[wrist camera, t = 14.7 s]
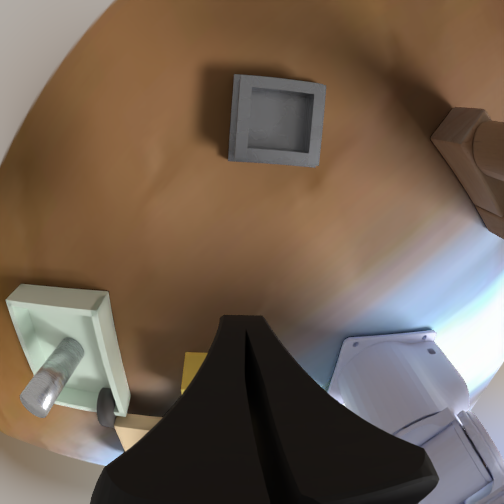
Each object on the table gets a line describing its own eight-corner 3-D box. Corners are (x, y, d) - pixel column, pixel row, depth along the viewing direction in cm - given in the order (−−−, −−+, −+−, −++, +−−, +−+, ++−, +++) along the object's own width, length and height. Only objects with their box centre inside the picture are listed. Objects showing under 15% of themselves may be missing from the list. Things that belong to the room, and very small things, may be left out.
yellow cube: (237, 352, 23) (240, 390, 20) (236, 387, 25) (238, 423, 21) (185, 351, 23) (180, 389, 19) (188, 386, 24) (185, 422, 21)
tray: (108, 291, 20) (97, 310, 18) (131, 396, 24) (125, 416, 22) (21, 283, 19) (5, 299, 17) (55, 383, 24) (47, 401, 21)
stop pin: (78, 336, 21) (36, 394, 14) (88, 359, 21) (52, 419, 15) (57, 337, 21) (14, 391, 14) (67, 359, 22) (30, 415, 15)
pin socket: (320, 85, 16) (332, 80, 14) (312, 166, 18) (323, 171, 16) (233, 75, 16) (235, 69, 14) (228, 160, 18) (228, 164, 16)
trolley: (222, 388, 25) (223, 450, 19) (221, 461, 30) (223, 508, 24) (104, 379, 23) (84, 435, 18) (132, 455, 29) (125, 499, 23)
